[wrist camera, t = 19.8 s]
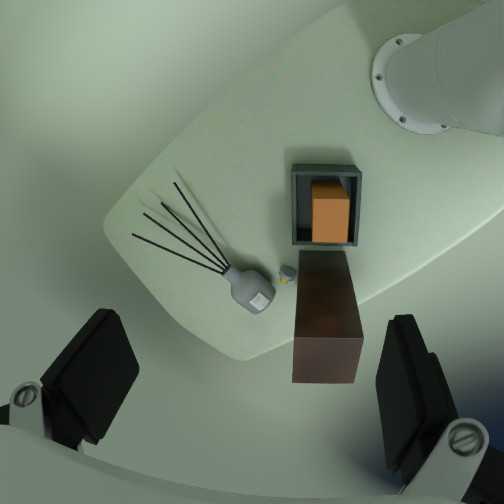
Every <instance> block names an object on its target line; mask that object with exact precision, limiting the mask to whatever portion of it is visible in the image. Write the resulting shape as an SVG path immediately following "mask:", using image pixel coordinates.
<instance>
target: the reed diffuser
mask: <svg viewBox="0 0 504 504" xmlns="http://www.w3.org/2000/svg"><path fill="white" fill-rule="evenodd" d="M173 184H174V185H175V187H176V188H177V190H178V191H179V193H180V194H181V196H182V197H183V199H184V200H185V202H186V203H187V205H188V206H189V208H190V209H191V211H192V212H193V214H194V215H195V217H196V218H197V220H198V222H199V223H200V225H201V226H202V228H203V229H204V231H205V232H206V234H207V235H208V236H209V238H210V239H211V241H212V242H213V244H214V245H215V247H216V248H217V250H218V251H219V253H220V254H221V256H222V257H223V259H224V260H225V262H226V263H227V265H228V266H226V265H225V264H224V263H223V262H222V261H221V260H220V259H219V258H218V257H217V256H216V255H215V254H214V253H212V252H211V251H210V250H209V249H208V248H207V247H206V246H205V245H204V244H203V243H202V242H201V241H200V240H199V239H198V238H197V237H196V236H195V235H194V234H193V233H192V232H191V231H190V230H189V229H188V228H187V227H186V226H185V225H184V224H183V223H182V222H181V221H180V220H179V219H178V218H177V217H176V216H175V215H174V214H173V213H172V212H171V211H170V210H169V209H168V208H167V207H166V206H165V205H164V204H163V203H161V205H162V206H163V207H164V208H165V209H166V210H167V211H168V212H169V213H170V214H171V215H172V216H173V217H174V218H175V219H176V220H177V221H178V222H179V223H180V224H181V225H182V226H183V227H184V228H185V229H186V230H187V231H188V232H189V233H190V234H191V235H192V236H193V237H194V238H195V239H196V240H197V241H198V242H199V243H200V244H201V245H202V246H203V247H204V248H205V249H207V250H208V251H209V252H210V253H211V254H212V255H213V256H214V257H215V258H216V259H217V260H218V261H219V262H220V263H221V264H222V265H223V266H224V267H225V269H224V268H223V267H221V266H220V265H218V264H217V263H215V262H214V261H212V260H211V259H210V258H208V257H207V256H205V255H204V254H202V253H201V252H199V251H198V250H196V249H195V248H194V247H192V246H191V245H189V244H188V243H186V242H185V241H184V240H182V239H181V238H179V237H178V236H176V235H175V234H174V233H172V232H171V231H169V230H168V229H166V228H165V227H164V226H162V225H161V224H159V223H158V222H157V221H155V220H154V219H152V218H151V217H150V216H148V215H147V214H145V213H143V215H145V216H146V217H147V218H149V219H150V220H152V221H153V222H154V223H156V224H157V225H159V226H160V227H161V228H163V229H164V230H166V231H167V232H168V233H170V234H171V235H173V236H174V237H176V238H177V239H178V240H180V241H181V242H183V243H184V244H186V245H187V246H188V247H190V248H191V249H193V250H194V251H196V252H197V253H199V254H200V255H201V256H203V257H204V258H206V259H207V260H209V261H210V262H212V263H213V264H215V265H216V266H218V267H219V268H220V269H222V270H223V272H220V271H218V270H215V269H213V268H211V267H208V266H206V265H204V264H201V263H199V262H197V261H194V260H192V259H190V258H187V257H185V256H183V255H181V254H178V253H176V252H174V251H171V250H169V249H167V248H165V247H162V246H160V245H158V244H156V243H153V242H151V241H149V240H147V239H145V238H142V237H140V236H138V235H136V234H133V233H132V235H133V236H135V237H137V238H139V239H142V240H144V241H146V242H148V243H150V244H153V245H155V246H157V247H159V248H162V249H164V250H166V251H169V252H171V253H173V254H175V255H178V256H180V257H182V258H185V259H187V260H189V261H191V262H194V263H196V264H198V265H201V266H203V267H205V268H208V269H210V270H212V271H215V272H217V273H219V274H221V275H222V276H223V277H224V278H226V279H227V280H228V281H229V282H230V283H231V296H232V297H233V299H234V300H235V301H236V302H238V303H239V304H240V305H242V306H243V307H244V308H246V309H247V310H248V311H250V312H251V313H253V314H259V313H261V312H262V311H264V310H265V309H266V308H267V307H268V306H269V305H270V303H271V302H272V300H273V299H274V296H275V293H276V290H275V288H274V287H273V286H272V285H271V284H270V283H269V282H268V281H267V280H266V279H265V278H264V277H262V276H261V275H260V274H259V273H258V272H256V271H254V270H248V271H244V272H240V271H239V270H238V269H236V268H235V267H234V266H233V265H231V264H229V262H228V261H227V259H226V258H225V256H224V255H223V253H222V252H221V251H220V249H219V248H218V246H217V245H216V243H215V242H214V240H213V239H212V237H211V236H210V234H209V233H208V231H207V230H206V228H205V227H204V225H203V224H202V222H201V221H200V219H199V218H198V216H197V215H196V213H195V212H194V210H193V209H192V207H191V205H190V204H189V202H188V201H187V199H186V198H185V196H184V195H183V193H182V192H181V190H180V189H179V187H178V186H177V184H176V183H175V182H174V183H173ZM279 275H280V276H281V278H280V282H281V283H282V284H287V283H288V281H292V280H293V279H294V278H295V276H296V272H295V271H294V270H293V269H292V268H290V267H287V266H283V267H282V268H281V270H280V272H279Z"/></svg>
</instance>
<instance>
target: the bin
mask: <svg viewBox="0 0 504 504" xmlns="http://www.w3.org/2000/svg"><path fill="white" fill-rule="evenodd" d="M311 180H329V181H341V183H342V185H343V187H344V189H345V191H346V193H347V195H348V197H349V199H350V203H349V222H348V237H347V243H327V242H312V224H311ZM361 181H362V172H361V171H360V170H359V169H358V168H357V167H356V166H355V165H333V164H293V165H292V170H291V184H292V245H323V246H357V243H358V231H359V218H360V202H361Z"/></svg>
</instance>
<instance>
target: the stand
mask: <svg viewBox="0 0 504 504" xmlns="http://www.w3.org/2000/svg"><path fill="white" fill-rule="evenodd" d="M363 340H364V336H363V331H362V325H361V321H360V316H359V311H358V306H357V301H356V297H355V292H354V288H353V283H352V279H351V275H350V270H349V266H348V262H347V258H346V254H345V251H299V267H298V285H297V302H296V317H295V331H294V351H293V374H292V383H330V384H333V383H334V384H336V383H337V384H338V383H354V379H355V375H356V371H357V367H358V363H359V358H360V354H361V349H362V345H363Z"/></svg>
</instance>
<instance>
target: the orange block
mask: <svg viewBox="0 0 504 504" xmlns="http://www.w3.org/2000/svg"><path fill="white" fill-rule="evenodd" d="M349 203H350V199H349V197H348V195H347V193H346V191H345V189H344V187H343V185H342V183H341V181H329V180H311V224H312V242H327V243H347V237H348V222H349Z"/></svg>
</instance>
